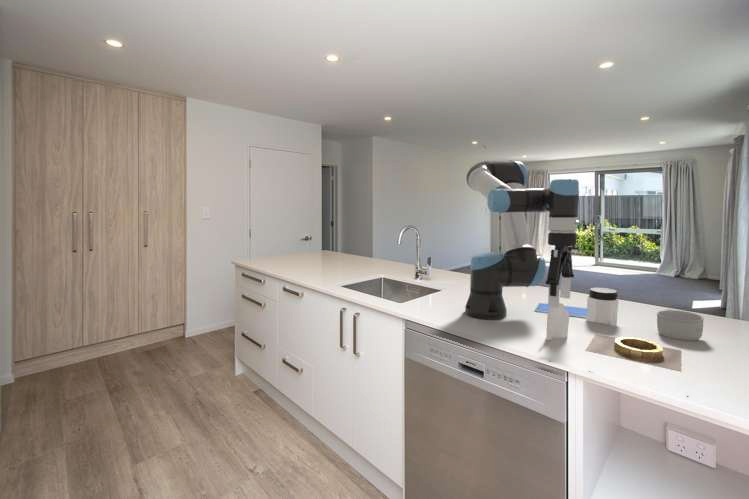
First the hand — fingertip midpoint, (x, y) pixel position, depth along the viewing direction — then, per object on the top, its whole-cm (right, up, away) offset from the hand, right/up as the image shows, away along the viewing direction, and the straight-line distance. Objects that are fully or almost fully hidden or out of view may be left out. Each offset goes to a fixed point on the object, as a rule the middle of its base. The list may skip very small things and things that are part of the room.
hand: (559, 302), depth 108 cm
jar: (+22, -10, +16) cm, 29 cm away
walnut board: (+15, -13, -10) cm, 22 cm away
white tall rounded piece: (0, -12, +2) cm, 12 cm away
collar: (+15, -12, -11) cm, 22 cm away
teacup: (+37, -12, +2) cm, 39 cm away
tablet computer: (+18, -9, +31) cm, 37 cm away
